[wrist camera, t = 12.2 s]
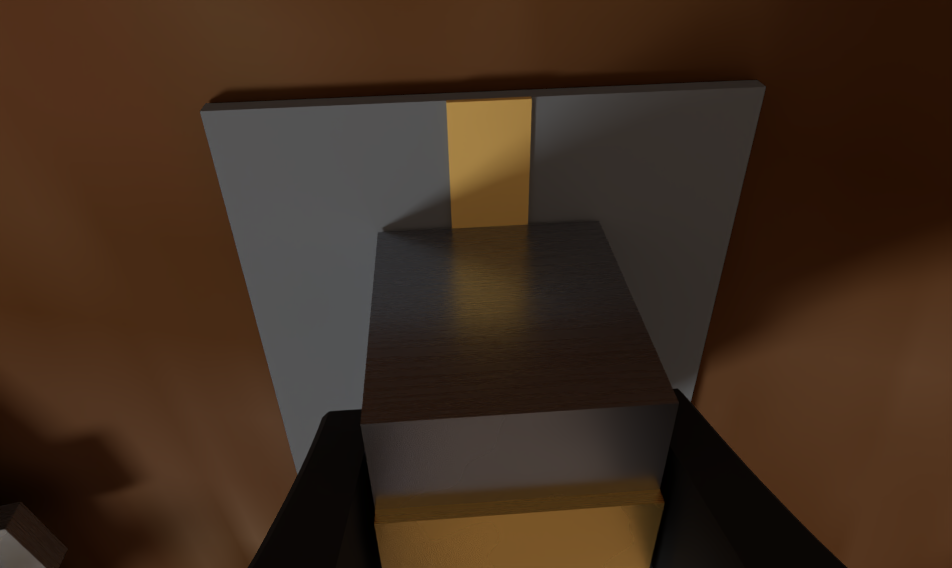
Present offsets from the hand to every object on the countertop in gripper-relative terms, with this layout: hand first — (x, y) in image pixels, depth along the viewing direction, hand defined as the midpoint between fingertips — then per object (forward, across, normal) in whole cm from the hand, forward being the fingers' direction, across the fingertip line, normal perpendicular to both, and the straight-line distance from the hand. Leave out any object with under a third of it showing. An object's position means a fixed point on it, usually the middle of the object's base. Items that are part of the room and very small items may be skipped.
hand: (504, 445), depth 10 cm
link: (+2, 0, 0) cm, 2 cm away
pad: (+3, 0, 0) cm, 3 cm away
